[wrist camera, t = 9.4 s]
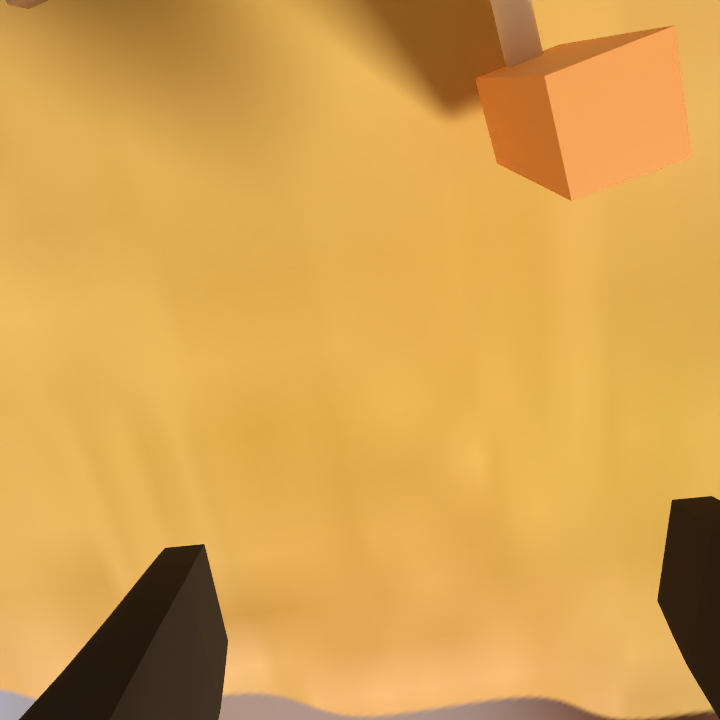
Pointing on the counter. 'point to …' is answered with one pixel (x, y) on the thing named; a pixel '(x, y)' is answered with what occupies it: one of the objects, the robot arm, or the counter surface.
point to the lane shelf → (25, 3)
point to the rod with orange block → (583, 105)
